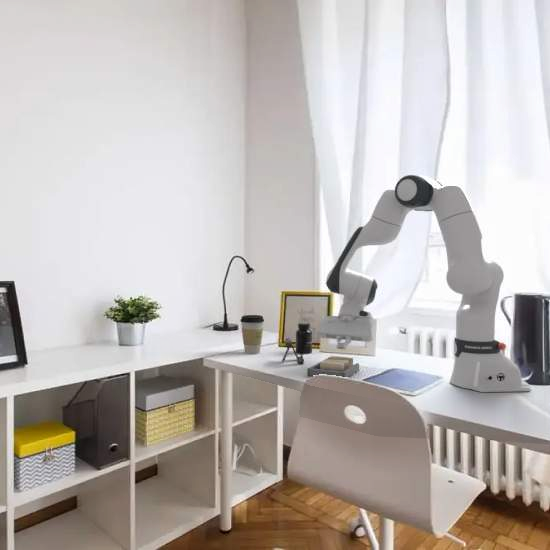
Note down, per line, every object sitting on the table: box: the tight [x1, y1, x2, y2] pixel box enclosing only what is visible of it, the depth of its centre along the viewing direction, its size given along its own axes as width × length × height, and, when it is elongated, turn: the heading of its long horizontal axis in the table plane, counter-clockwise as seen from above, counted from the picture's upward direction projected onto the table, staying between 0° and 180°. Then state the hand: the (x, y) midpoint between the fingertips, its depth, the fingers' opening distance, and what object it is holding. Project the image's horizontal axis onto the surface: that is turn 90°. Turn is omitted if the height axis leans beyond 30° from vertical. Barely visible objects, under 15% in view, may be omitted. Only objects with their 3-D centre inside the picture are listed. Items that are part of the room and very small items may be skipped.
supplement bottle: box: [295, 322, 313, 355], centre depth 200 cm, size 7×7×12 cm
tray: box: [307, 361, 360, 378], centre depth 166 cm, size 13×15×2 cm
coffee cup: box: [239, 314, 265, 355], centre depth 200 cm, size 10×10×15 cm
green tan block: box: [320, 355, 354, 372], centre depth 168 cm, size 4×8×11 cm
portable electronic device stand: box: [281, 337, 305, 365], centre depth 183 cm, size 9×8×8 cm
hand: (341, 348), depth 172 cm, fingers closed
